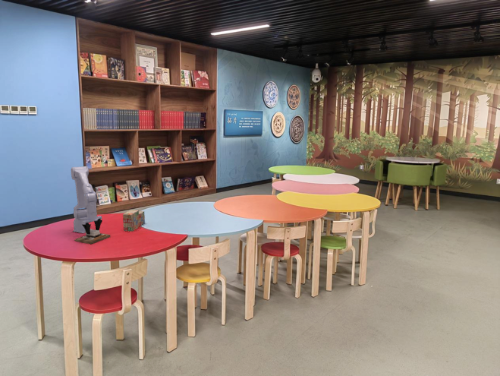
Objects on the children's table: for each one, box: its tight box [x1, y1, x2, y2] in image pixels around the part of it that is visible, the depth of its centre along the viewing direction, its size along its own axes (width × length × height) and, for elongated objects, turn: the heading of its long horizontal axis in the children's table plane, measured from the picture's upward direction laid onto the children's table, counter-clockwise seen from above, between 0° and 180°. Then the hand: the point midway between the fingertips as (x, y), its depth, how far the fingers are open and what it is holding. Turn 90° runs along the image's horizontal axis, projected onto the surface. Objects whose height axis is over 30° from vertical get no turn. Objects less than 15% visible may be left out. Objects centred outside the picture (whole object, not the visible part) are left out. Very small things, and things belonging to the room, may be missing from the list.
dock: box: [74, 232, 111, 245], centre depth 241 cm, size 14×16×2 cm
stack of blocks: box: [122, 209, 146, 233], centre depth 268 cm, size 21×6×12 cm, turn 172°
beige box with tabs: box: [85, 228, 101, 238], centre depth 241 cm, size 8×4×4 cm, turn 67°
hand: (93, 232), depth 241 cm, fingers open, 7 cm apart
